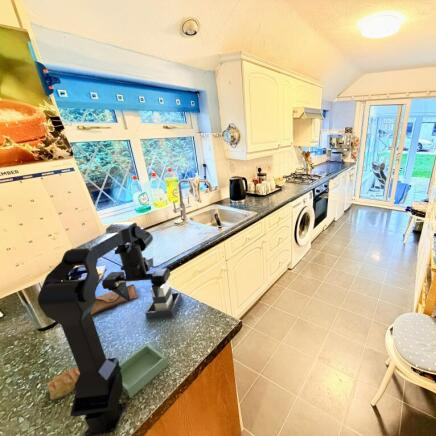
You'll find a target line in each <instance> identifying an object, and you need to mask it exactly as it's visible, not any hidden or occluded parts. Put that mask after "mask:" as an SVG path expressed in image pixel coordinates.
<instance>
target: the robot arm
mask: <svg viewBox="0 0 436 436" xmlns="http://www.w3.org/2000/svg"><path fill="white" fill-rule="evenodd" d="M153 241H154V237H153V235H152V234H151V232H149V231H148V230H146V229H145V227H140V226H139V225H138V224H137V222H116V223H115V222H114V223H111V224H110V225H109V226H108V227H106V229H105V233H102V234H101V235H99V236H97V237H95V238H93V239H90V240H89V241H86V242H84V243H82V244H81V245H79V246H76V247H73V248H70V249H68V250H66V251H65V252H64V254H63V256H62V258H61V260H60V262H59V263H58V264H57V265H56V266H55V267H53V269H52V270H51V271H50V272H49V273H48V274H47V275H46V276H45V278H44V281H43V283H42V285H41V288H40V291H39V293H38V295H37V304H38V306H39V308H40V309H41V311H42V312H43V314H44V316H46V318H49V319H51V320H52V321H54V322H56V323H57V324H59V325H60V326H61V328H62V331H63V334H64V335H65V338H66V341H67V344H68V346H69V349H70V351H71V354H72V356H73V359H74V361H75V364H76V368H77V367H78V369H79V372H80V375H79V377H78V379H77V381H76V383H75V389H74V390H75V391H74V392H75V393H74V397H73V402H72V405H71V410H70V414H69V415H70V417H73V418H78V417H82V416H85V417H84V421H85V423H86V425H87V429H86V431H85V433H84V436H99V435H106V434H112V433H114V432H115V431H116V428H117V427H118V424H119V422H120V421H121V418H122V415H123V414H124V411H125V409H126V407H127V403H126V402H120V399H121V398H122V395H123V393H124V392H123V381H122V374H121V371H120V370H121V367H120V366H119V365H120V362H119V359H118V357H110V358H107V357H106V355H105V354H106V353H105V351H104V349H103V345H102V342H101V340H100V339H101V338H100V336H99V333H98V330H97V327H96V324H95V321H94V319H93V316H92V315H91V309H92V307H93V305H94V303H95V301H96V297H97V296H96V291H97V289H98V285H99V282H100V274H99V271H98V268H97V262H98V260H99V259H101V258H102V257H105V255H107V254H109V253H110V252H112V251H113V250H114V255H119V257H120V261H121V267H120V271H111V272H110V273H109V274H107V276H105V278H104V279H103V280H102V281H101V285H102V286H101V287H102V289H103V290H108V291H110V292H112V291H113V292H115V293H117V294H118V295H120V296H121V297H123V298H124V299H126V300H127V301H128V302H130V301H129V300H130V295H129V292H128V289H127V286H128V285H127V283H131V282H139V281H150V283H151V284H152V285H151V287H152V289H153V292H154V295H155V297H156V298H158V296H159V292H160V287H161V286H162V285H163V284H165V283H166V281H167V280H168V279H169V278H170V276H171V270H170V269H169V268H166V267H165V268H156V269H155V271H154V272H153V273H148V272H150V271H151V267H154V257H145V256H143V253H142V252H144V251H145V250H147V248H149V246H150V245H151V244H152V242H153ZM80 266H81V267H82V266H84V268H85V272H86V276H85V278H84V279H74V280H64V279H65V278H66V277H67V276H68V275H69V274H70V273H71V272H72V271H73V270H74V269H75V267H80Z"/></svg>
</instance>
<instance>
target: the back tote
mask: <svg viewBox="0 0 436 436" xmlns="http://www.w3.org/2000/svg"><path fill="white" fill-rule="evenodd" d="M172 297H173V304H172V306H171V308H170V310H165V311H156V309H155V305H154V302H153V300H152V301H151V303H150V304H149V306H148V307H147V309H146V311H145V313H144V314H145V319H146V320H154V319H155V320H156V319H166V318H174V317H175V314H176V312H177V310H178V307H179V305H180V303H181V301H182V299H183V296H182V292H181V291H177V292H172Z"/></svg>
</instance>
